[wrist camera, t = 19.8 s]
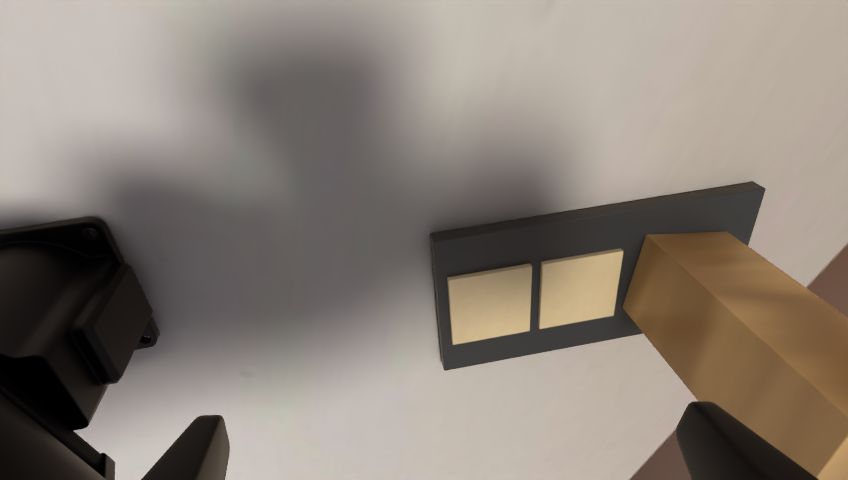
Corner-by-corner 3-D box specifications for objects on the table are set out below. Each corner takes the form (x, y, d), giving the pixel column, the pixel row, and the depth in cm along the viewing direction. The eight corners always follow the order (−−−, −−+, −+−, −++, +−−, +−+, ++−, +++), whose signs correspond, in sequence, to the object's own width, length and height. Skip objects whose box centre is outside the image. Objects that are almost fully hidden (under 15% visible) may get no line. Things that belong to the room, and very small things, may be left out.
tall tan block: (621, 309, 26) (788, 516, 16) (645, 234, 23) (856, 425, 14) (696, 304, 26) (897, 499, 17) (727, 230, 24) (978, 410, 15)
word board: (441, 360, 26) (445, 375, 26) (429, 233, 22) (434, 245, 21) (716, 309, 28) (729, 321, 27) (754, 181, 24) (771, 191, 23)
